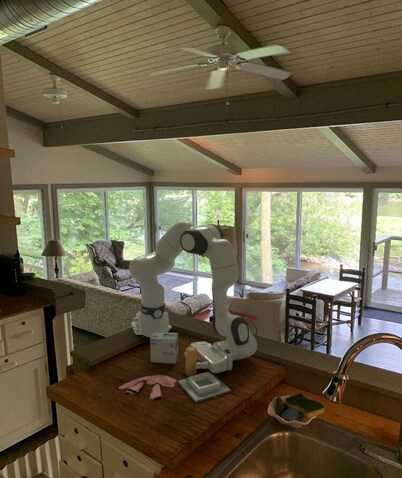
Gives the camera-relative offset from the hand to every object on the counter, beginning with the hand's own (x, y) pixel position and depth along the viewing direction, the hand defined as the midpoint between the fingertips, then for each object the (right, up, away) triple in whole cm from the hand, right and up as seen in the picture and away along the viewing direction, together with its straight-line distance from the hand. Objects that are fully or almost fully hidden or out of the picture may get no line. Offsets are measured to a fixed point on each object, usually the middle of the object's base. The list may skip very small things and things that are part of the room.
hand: (189, 360), depth 148 cm
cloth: (-15, -8, -9) cm, 20 cm away
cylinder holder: (+5, -7, -8) cm, 12 cm away
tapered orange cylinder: (0, -5, +1) cm, 6 cm away
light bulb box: (-11, -4, +12) cm, 17 cm away
